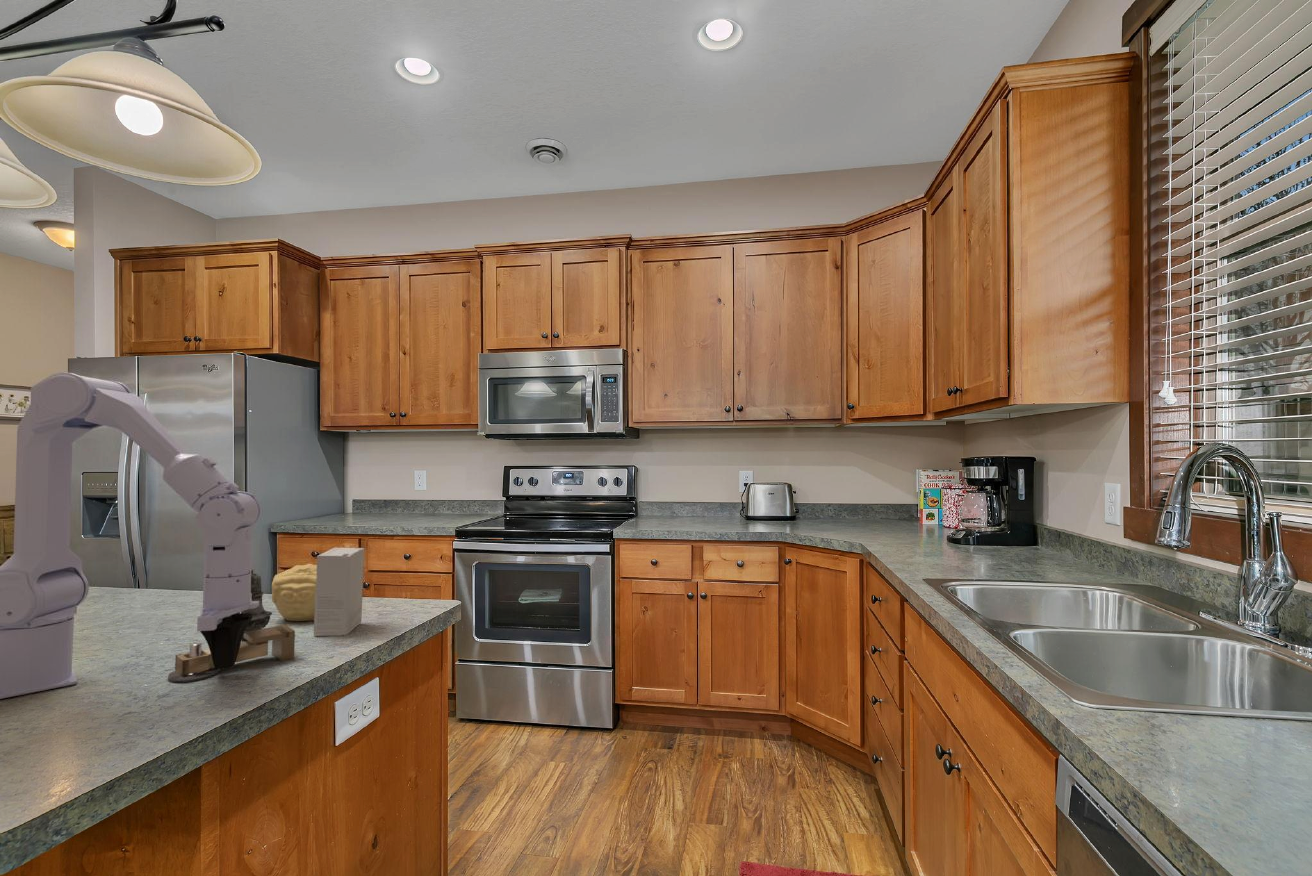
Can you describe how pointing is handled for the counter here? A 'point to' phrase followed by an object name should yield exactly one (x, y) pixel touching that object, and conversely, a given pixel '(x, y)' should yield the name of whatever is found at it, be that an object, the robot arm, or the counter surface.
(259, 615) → the dark grey tall piece
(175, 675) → the pintle base
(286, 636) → the keeper
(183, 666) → the link
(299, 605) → the sculpture
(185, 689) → the counter surface
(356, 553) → the skincare box
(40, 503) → the robot arm
